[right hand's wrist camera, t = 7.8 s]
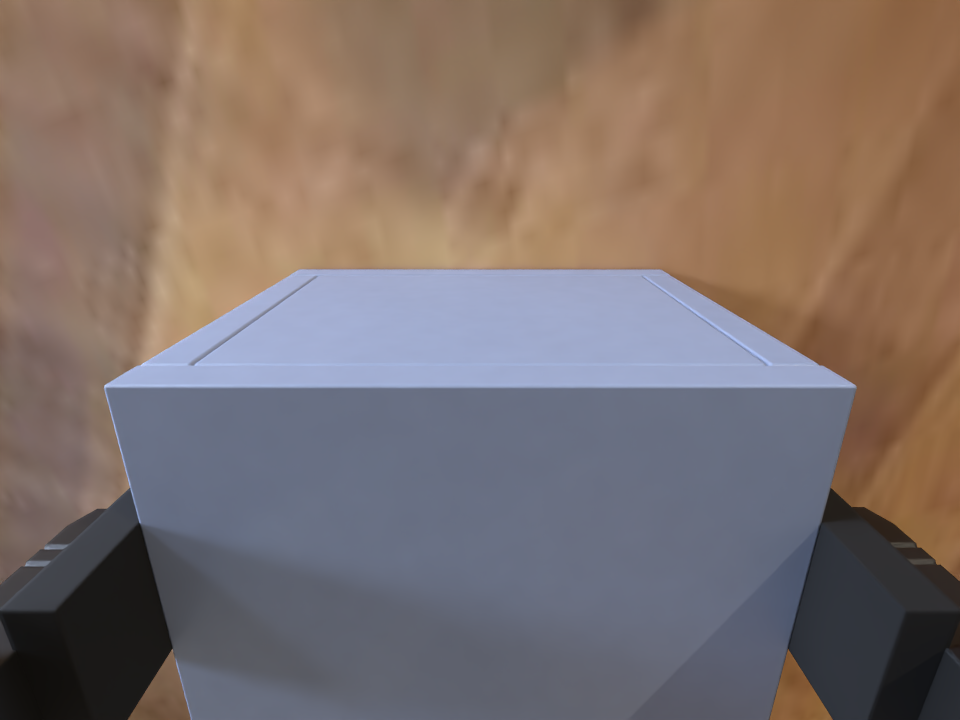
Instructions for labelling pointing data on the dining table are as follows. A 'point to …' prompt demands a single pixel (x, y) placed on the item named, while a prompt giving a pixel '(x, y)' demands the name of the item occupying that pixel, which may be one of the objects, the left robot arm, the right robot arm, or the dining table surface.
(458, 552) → the cabinet
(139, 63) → the dining table surface
